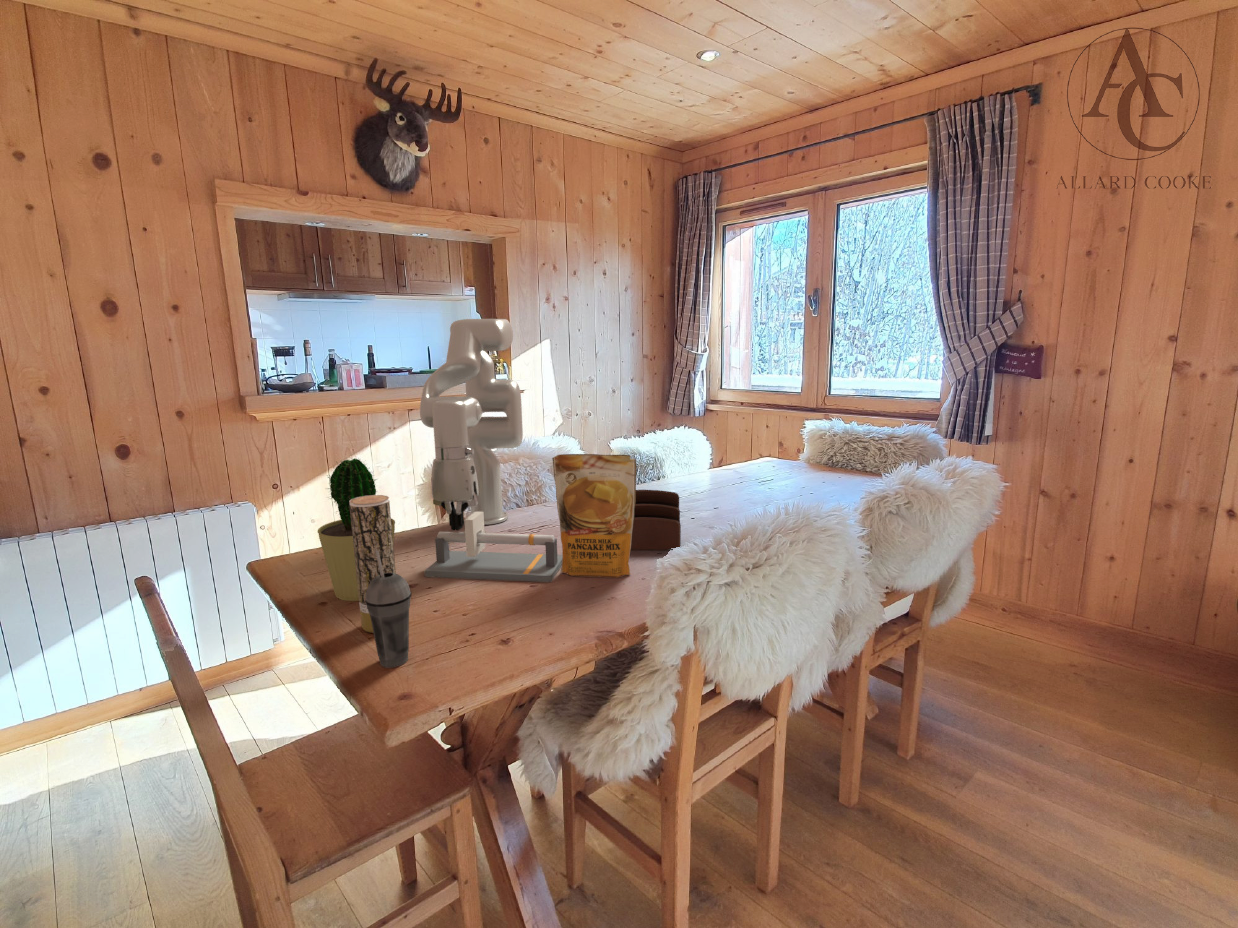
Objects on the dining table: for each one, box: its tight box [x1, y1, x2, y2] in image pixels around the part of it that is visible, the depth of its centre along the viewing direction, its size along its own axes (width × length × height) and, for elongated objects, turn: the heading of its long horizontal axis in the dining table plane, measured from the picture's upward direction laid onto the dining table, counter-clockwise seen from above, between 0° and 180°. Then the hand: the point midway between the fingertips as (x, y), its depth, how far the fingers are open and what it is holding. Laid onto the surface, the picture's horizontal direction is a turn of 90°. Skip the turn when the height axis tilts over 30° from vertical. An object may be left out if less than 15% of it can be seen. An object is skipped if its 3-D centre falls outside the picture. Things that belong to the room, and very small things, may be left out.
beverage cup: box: [365, 550, 412, 668], centre depth 102 cm, size 7×7×20 cm
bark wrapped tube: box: [349, 494, 397, 634], centre depth 114 cm, size 7×7×25 cm
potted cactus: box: [317, 457, 396, 602], centre depth 131 cm, size 15×15×30 cm
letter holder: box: [630, 489, 682, 551], centre depth 161 cm, size 10×20×14 cm, turn 87°
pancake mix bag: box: [551, 453, 638, 579], centre depth 140 cm, size 7×19×28 cm, turn 83°
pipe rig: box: [424, 531, 562, 583], centre depth 145 cm, size 14×30×9 cm, turn 82°
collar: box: [464, 512, 486, 557], centre depth 145 cm, size 7×2×9 cm, turn 172°
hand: (457, 528), depth 145 cm, fingers closed
